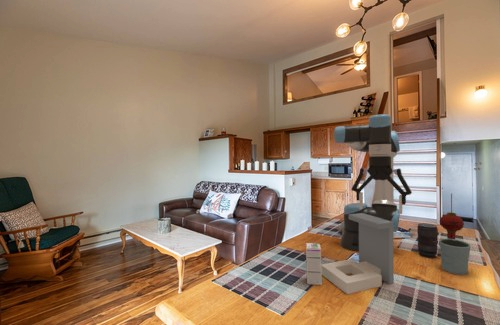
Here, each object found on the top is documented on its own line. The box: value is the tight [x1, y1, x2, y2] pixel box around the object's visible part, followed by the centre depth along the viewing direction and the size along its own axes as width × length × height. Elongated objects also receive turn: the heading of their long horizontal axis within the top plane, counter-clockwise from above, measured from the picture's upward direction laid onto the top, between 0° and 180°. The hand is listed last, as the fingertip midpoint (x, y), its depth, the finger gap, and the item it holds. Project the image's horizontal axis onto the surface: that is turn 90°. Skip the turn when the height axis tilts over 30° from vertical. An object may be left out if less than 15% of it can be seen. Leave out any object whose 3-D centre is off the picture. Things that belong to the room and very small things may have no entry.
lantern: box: [439, 193, 464, 240], centre depth 121 cm, size 10×10×30 cm
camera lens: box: [416, 222, 439, 259], centre depth 119 cm, size 8×8×15 cm
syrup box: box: [305, 242, 323, 286], centre depth 97 cm, size 6×6×14 cm
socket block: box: [322, 213, 395, 295], centre depth 98 cm, size 16×22×24 cm
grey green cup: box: [439, 238, 471, 276], centre depth 103 cm, size 10×10×12 cm
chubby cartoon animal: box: [337, 221, 344, 236], centre depth 153 cm, size 7×12×8 cm, turn 12°
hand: (380, 211), depth 93 cm, fingers open, 13 cm apart
